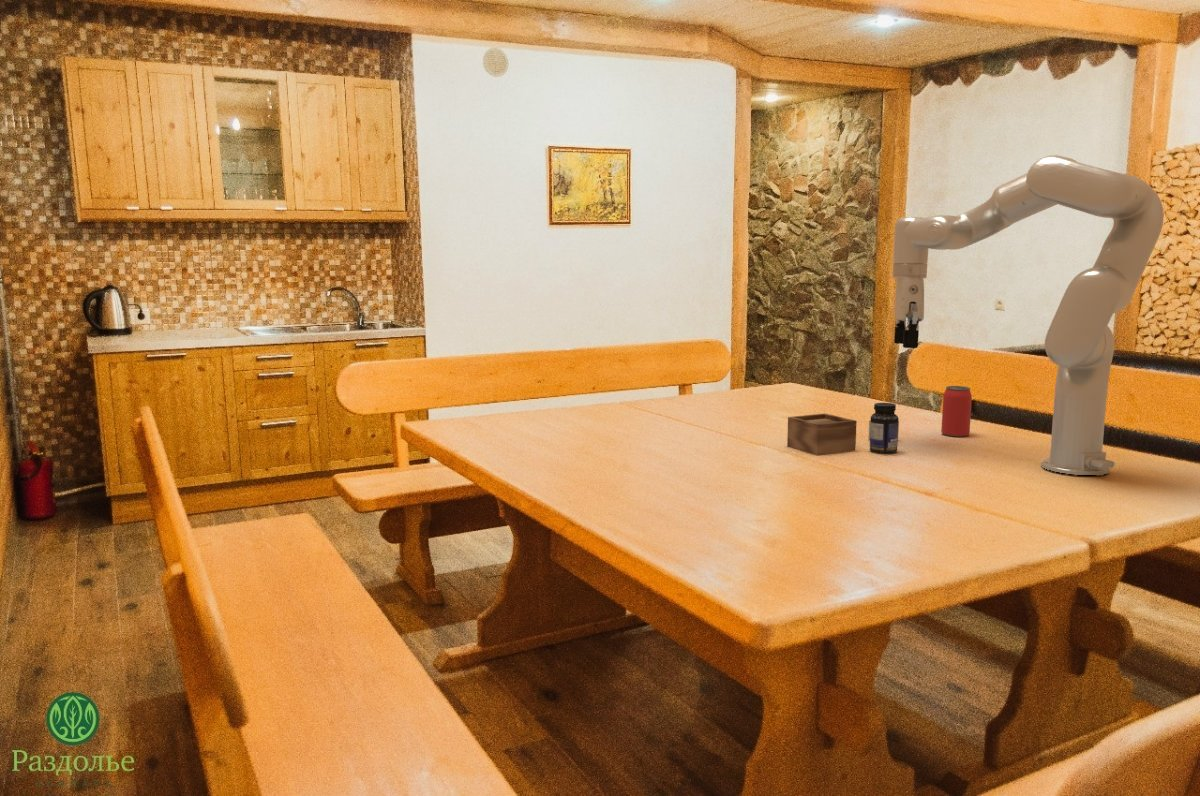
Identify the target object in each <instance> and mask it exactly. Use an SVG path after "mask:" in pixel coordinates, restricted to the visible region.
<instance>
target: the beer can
mask: <svg viewBox="0 0 1200 796" xmlns="http://www.w3.org/2000/svg"><path fill="white" fill-rule="evenodd" d="M970 389H971V388H970V387H968V386H964V385H962V386H961V385H950V386H949V385H948V386H946V387H945V390H944V392H943V395H942V410H941V411H942V413H941V429H940V430H941V433H942V435H943V436H946V437H951V436H952V438H953V437H954V438H965V437H968V436H969V435H970V433H971V432H970V431H971V417H972V415H971V413H972V400H973V398H972V397H973V396H972V392H971V390H970Z"/></svg>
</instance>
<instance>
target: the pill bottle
mask: <svg viewBox="0 0 1200 796" xmlns="http://www.w3.org/2000/svg"><path fill="white" fill-rule="evenodd" d="M896 406H897V405H896V404H895V403H892V402H875V403H874V406H873V409H874V413H873V414H871V416H870V420H871V422H870V441H869V451H871V452H872V453H876V454H879V455H881V454H882V455H883V454H884V455H885V454H886V455H887V454H888V455H890V454H896V453H897V452H898V445H899V444H898V441H899V433H898V421H899V417H898V415H897V414H896V410H897V409H896V408H897V407H896ZM899 422H900V421H899Z"/></svg>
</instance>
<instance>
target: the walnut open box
mask: <svg viewBox="0 0 1200 796" xmlns="http://www.w3.org/2000/svg"><path fill="white" fill-rule="evenodd" d="M857 422H858V421H857V420H855V419H850V418H847V417H842V416H838V415H833V414H829V413H815V414H806V415H796V416H788V417H787V439H786V440H787V444H786V446H787V447H789V448H792V449H796V450H799V451H802V452H805V453H809V454H812V455H815V456H822V455H830V454H839V453H846V452H847V453H848V452H855V451H856V447H857V446H856V443H857Z"/></svg>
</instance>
